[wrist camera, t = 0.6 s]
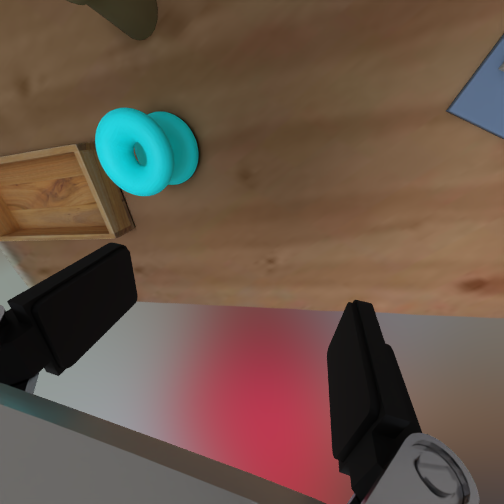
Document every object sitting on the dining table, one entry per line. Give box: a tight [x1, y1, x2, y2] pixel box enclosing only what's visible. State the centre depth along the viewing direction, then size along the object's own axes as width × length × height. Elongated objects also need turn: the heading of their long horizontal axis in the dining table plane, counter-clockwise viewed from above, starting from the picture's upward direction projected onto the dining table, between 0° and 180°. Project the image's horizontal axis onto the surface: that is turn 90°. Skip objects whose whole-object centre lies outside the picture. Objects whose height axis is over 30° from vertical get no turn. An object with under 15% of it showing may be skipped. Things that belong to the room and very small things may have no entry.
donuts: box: [95, 108, 199, 196], centre depth 31 cm, size 10×10×10 cm
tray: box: [0, 142, 135, 241], centre depth 43 cm, size 31×15×6 cm, turn 98°
